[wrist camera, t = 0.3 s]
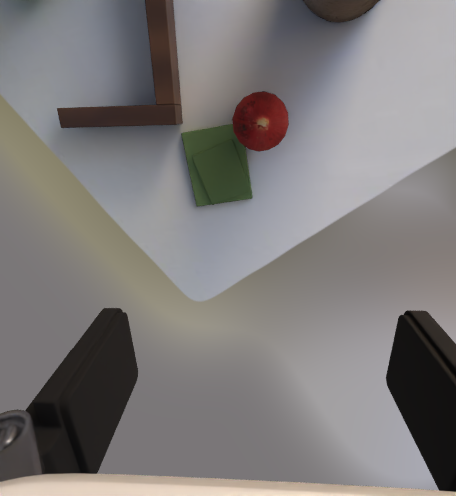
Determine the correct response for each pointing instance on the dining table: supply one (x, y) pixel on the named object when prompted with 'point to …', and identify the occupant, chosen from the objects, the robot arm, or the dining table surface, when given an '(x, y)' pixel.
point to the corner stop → (163, 75)
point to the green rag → (217, 165)
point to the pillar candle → (340, 8)
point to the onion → (260, 121)
